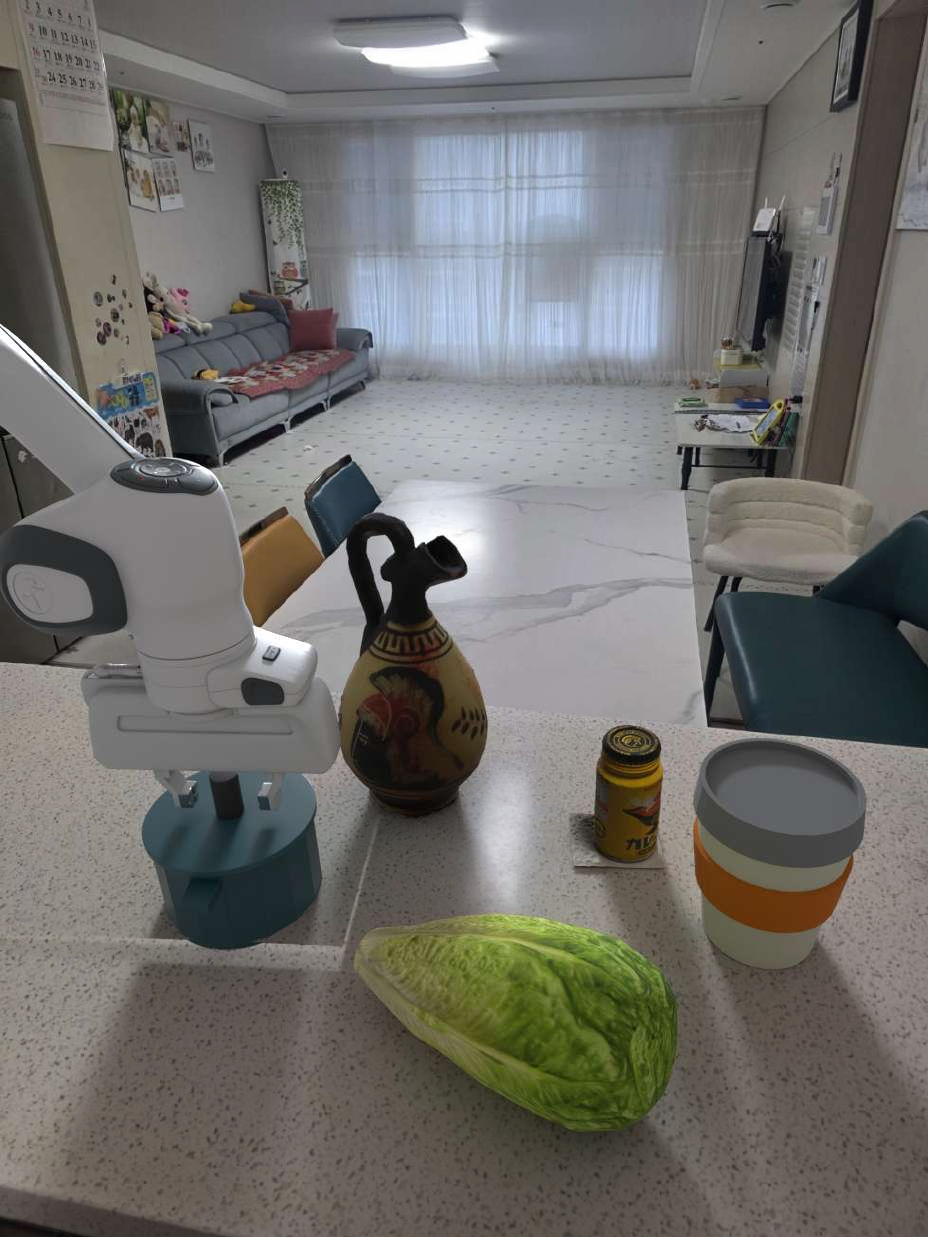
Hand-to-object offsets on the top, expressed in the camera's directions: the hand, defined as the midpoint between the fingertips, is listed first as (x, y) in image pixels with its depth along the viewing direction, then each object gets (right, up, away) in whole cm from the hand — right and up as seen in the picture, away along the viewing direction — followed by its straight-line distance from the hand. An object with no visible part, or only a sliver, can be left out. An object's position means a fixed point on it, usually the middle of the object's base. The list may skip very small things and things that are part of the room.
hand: (229, 805), depth 71 cm
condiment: (+35, -6, +9) cm, 36 cm away
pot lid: (0, -1, +1) cm, 1 cm away
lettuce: (+23, -15, -10) cm, 30 cm away
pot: (0, -9, +4) cm, 10 cm away
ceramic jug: (+15, -2, +18) cm, 23 cm away
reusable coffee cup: (+45, -10, -1) cm, 46 cm away
